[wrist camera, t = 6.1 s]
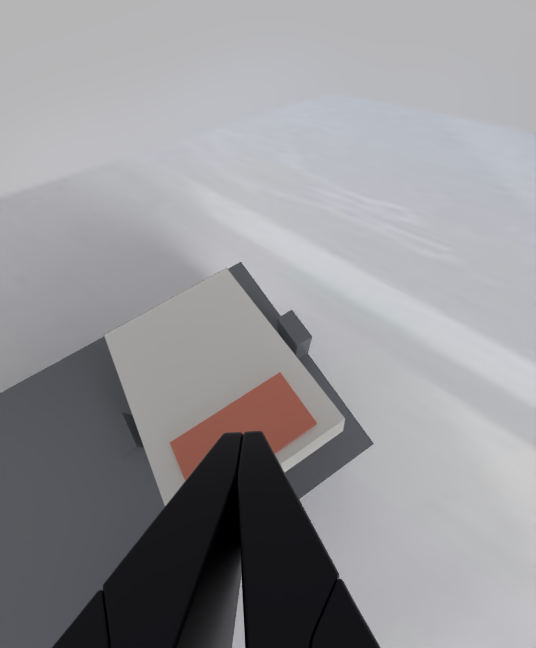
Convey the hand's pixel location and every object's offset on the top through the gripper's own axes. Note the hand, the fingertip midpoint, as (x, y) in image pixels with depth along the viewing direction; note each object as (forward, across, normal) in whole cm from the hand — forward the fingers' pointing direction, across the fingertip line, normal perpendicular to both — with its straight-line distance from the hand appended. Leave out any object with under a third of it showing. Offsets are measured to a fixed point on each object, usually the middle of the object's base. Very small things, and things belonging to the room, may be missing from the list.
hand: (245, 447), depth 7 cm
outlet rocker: (+4, +1, 0) cm, 4 cm away
